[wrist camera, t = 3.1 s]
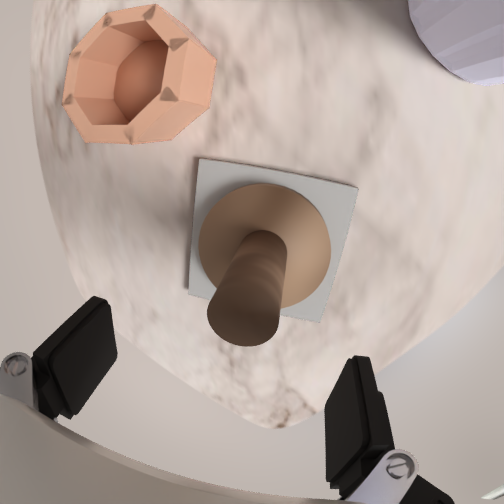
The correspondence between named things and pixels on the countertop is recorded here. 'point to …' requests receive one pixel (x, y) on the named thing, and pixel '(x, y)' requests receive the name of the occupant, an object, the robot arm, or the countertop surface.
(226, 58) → the countertop surface
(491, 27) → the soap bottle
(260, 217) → the lid
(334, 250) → the mat
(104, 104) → the octagonal peach pot
